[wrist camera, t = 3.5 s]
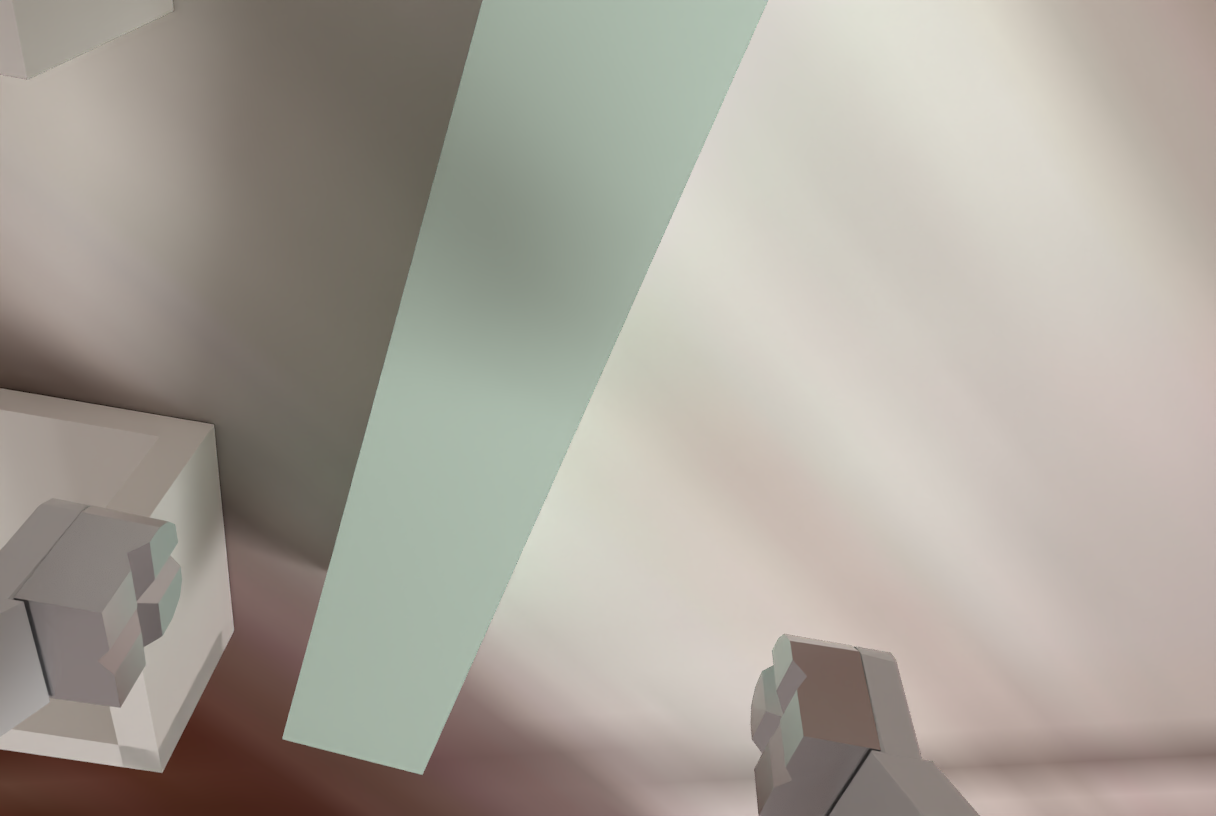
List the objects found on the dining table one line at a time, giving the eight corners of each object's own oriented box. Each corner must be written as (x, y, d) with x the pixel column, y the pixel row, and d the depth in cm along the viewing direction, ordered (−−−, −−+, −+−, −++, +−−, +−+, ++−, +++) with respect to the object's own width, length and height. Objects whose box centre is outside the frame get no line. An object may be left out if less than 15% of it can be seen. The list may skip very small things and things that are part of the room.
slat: (593, -273, 14) (562, -296, 10) (787, -181, 15) (841, -164, 11) (347, 574, 26) (282, 738, 22) (462, 607, 27) (422, 774, 22)
